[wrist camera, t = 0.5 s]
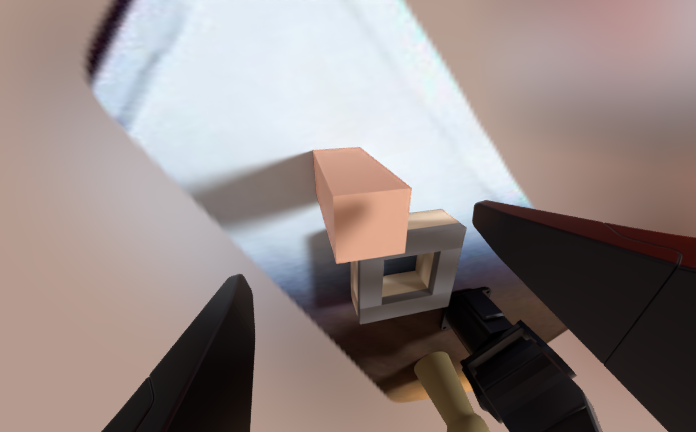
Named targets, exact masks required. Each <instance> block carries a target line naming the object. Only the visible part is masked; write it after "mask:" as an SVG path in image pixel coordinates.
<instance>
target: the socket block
mask: <svg viewBox="0 0 696 432" xmlns="http://www.w3.org/2000/svg"><path fill="white" fill-rule="evenodd" d="M465 233H466V227H465V226H464V225H462V224H461V223H460V222H459V221H457V220H456V219H455V218H453V217H452V216H451V215H449V214H448V213H447V212H446V211H444V210H443V209H439V210H431V211H423V212H415V213H409V218H408V227H407V237H406V246H405V253H403V254H397V255H390V256H384V257H377V258H371V259H364V260H358V261H352V262H351V297H352V300H353V303H354V307H355V310H356V313H357V316H358V319H359V323H360V324H365V323H370V322H375V321H380V320H384V319H389V318H394V317H399V316H404V315H409V314H413V313H418V312H423V311H428V310H433V309H438V308H442V307H447V306H448V305H449V300H450V296H451V292H452V288H453V283H454V279H455V275H456V271H457V266H458V262H459V258H460V254H461V250H462V245H463V241H464V237H465ZM413 255H417V261H416V268H415V271H410V272H404V273H398V274H392V275H386V276H383V272H384V260H388V259H394V258H400V257H407V256H413Z"/></svg>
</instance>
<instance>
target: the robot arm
mask: <svg viewBox="0 0 696 432" xmlns="http://www.w3.org/2000/svg"><path fill="white" fill-rule="evenodd" d="M472 222H473V225H474V227H475V228H476V229H477V231H478V232H479V233H480V234H481V236H482V237H483V238H484V239H485V241H486V242H487V243H488V244H489V246H490V247H491V248H492V250H493V251H494V252H495V253H496V254H497V256H498V257H499V258H500V259H501V260H502V261H503V262H504V263H505V264H506V265H507V266H508V267H509V268H510V269H511V270H512V271H513V272H514V273H515V274H516V275H517V276H518V277H519V278H520V279H521V280H522V281H523V282H524V283H525V285H526V286H527V287H528V288H529V289H530V290H531V291H532V292H533V293H534V294H535V295H536V296H537V297H538V298H539V299H540V300H541V301H542V302H543V303H544V304H545V305H546V306H547V307H548V308H549V309H550V310H551V311H552V312H553V313H554V314H555V315H556V316H557V317H558V318H559V319H560V321H561V322H562V323H563V324H564V325H565V326H566V327H567V328H568V329H569V330H570V331H571V332H572V333H573V334H574V335H575V336H576V337H577V338H578V339H579V340H580V341H581V342H582V343H583V344H584V345H585V346H586V347H587V348H588V349H589V350H590V351H591V352H592V353H593V354H594V355H595V356H596V357H597V359H598V360H599V361H600V362H601V363H603V364H604V366H605V367H606V368H607V369H608V370H609V371H610V372H611V373H612V374H613V375H614V376H615V377H616V378H617V379H618V380H619V381H620V382H621V383H622V385H623V386H624V387H625V388H627V390H628V391H629V392H630V393H631V394H632V395H633V396H634V397H635V398H636V399H637V400H638V401H639V402H640V403H641V404H642V405H643V406H644V407H645V408H646V409H647V410H648V411H649V412H650V413H651V414H652V415H653V416H654V417H655V418H656V419H657V421H659V422H660V423H661V425H662V426H663V427H664V428H665V429H666V430H667V431H668V432H696V238H695V237H689V236H682V235H675V234H668V233H662V232H656V231H650V230H643V229H638V228H632V227H627V226H621V225H616V224H610V223H603V222H599V221H594V220H589V219H584V218H578V217H573V216H568V215H562V214H557V213H552V212H546V211H541V210H536V209H531V208H525V207H520V206H515V205H509V204H504V203H499V202H493V201H488V200H484V201H481V202H477V203H476V204H475V205H474V211H473V219H472ZM490 294H491V289H490V288H489V287H486V288H481V289H476V290H471V291H466V292H461V293H455V294H451V296H450V300H449V305H448V306H447V307H444V310H443V314H442V319H441V323H440V328H441V330H448V329H453V331H454V332H455V334H456V335H457V337H458V338H459V340H460V341H461V342H462V344H463V345H464V347H465V348H466V350H467V351H468V353H469V354H470V356H469V357H468V358H466V359H465V360H464V359H463V360H462V361H460V363H461V365H462V367H463V368H462V371H463V373H464V374H465V376H466V378H467V379H468V381H469V383H470V384H471V387H472V389H473V391H474V394H475V396H476V398H477V401H478V402H479V405H480V407H481V408H482V409H483V410H484V411H487V412H489V413H490V414H491V415H492V416H493V417H494V418H495V419H496V420H497V421H498V422H499V423H504V424H505V426H506V427H507V429H508V430H509V432H603V431H602V429H601V426H600V424H599V421H598V418H597V416H596V413H595V411H594V408H593V406H592V404H591V403H590V401H589V400H588V398H587V397H586V395H585V394H584V392H583V391H582V390H581V388H580V387H579V386H578V385H577V384H576V383H575V382H574V381H573V380H572V378H574V377H576V376H577V375H576V374H575V373H574V371H573V370H572V369H571V368H570V367H569V366H568V365H567V364H566V363H565V362H564V361H563V359H562V358H561V357H559V355H558V354H557V353H556V352H554V350H553V349H552V348H550V347H549V346H548V345H547V344H546V343H545V342H544V341H543V340H542V339H541V338H540V337H539V336H538V335H537V334H535V333H534V332H533V331H532V330H531V329H530V328H529V327H528V326H527V325H526V324H525V323H524V322H522V321H521V320H519V321H518V322H517V324H515V325H514V326H513V325H512V324H511V323H510V322H509V321H508V320H507V319H506V318H505V316H504V313H503V312H502V311H501V310H500V309H499V308H498V307H497V306H496V305H495V304H494V303H493V302H492V301H491V300H490V299H489V297H490ZM254 353H255V323H254V307H253V294H252V290H251V288H250V287H249V285H248V283H247V281H246V279H245V277H244V276H243V275H242V274H237V275H234V276H231V277H229V278H228V279H227V280H226V281H225V283H224V284H223V285H222V286H221V287H220V289H219V290H218V291H217V292H216V294H215V295H214V296H213V297H212V298H211V300H210V301H209V302H208V303H207V305H206V306H205V307H204V308H203V310H202V311H201V312H200V313H199V315H198V316H197V317H196V318H195V319H194V321H193V322H192V323H191V324H190V326H189V327H188V328H187V329H186V330H185V332H184V333H183V334H182V335H181V337H180V338H179V339H178V340H177V342H176V343H175V344H174V345H173V346H172V348H171V349H170V350H169V351H168V353H167V354H166V355H165V356H164V358H163V359H162V360H161V361H160V363H159V364H158V365H157V366H156V367H155V369H154V370H153V371H152V372H151V374H150V375H149V376H150V377H148V378H146V379H145V381H144V382H143V383H142V384H141V386H140V387H139V388H138V390H137V391H136V392H135V393H134V394H133V395H132V397H131V398H130V399H129V400H128V401H127V403H126V404H125V405H124V406H123V407H122V409H121V410H120V411H119V412H118V413H117V414H116V416H115V417H114V418H113V419H112V420H111V421H110V422H109V424H108V425H107V426H106V427H105V428H104V429H103V430H102V431H101V432H250V423H251V405H252V387H253V370H254Z"/></svg>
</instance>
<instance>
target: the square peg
mask: <svg viewBox="0 0 696 432" xmlns="http://www.w3.org/2000/svg"><path fill="white" fill-rule="evenodd" d="M313 158H314V170H315V182H316V193H317V198H318V202H319V205H320V209H321V212H322V216H323V219H324V222H325V226H326V229H327V233H328V236H329V240H330V243H331V247H332V250H333V254H334V257H335V261H336V264H339V263H345V262H352V261H358V260H364V259H371V258H377V257H384V256H390V255H397V254H403V253H405V246H406V237H407V227H408V218H409V209H410V199H411V190H412V188H411V187H410V186H408V185H407V184H406V183H405V182H403V181H402V180H401V179H400V178H398V177H397V176H396V175H395V174H393V173H392V172H391V171H389V170H388V169H387V168H386V167H384V166H383V165H382V164H381V163H379V162H378V161H377V160H376V159H374V158H373V157H372V156H370V155H369V154H368V153H367V152H365V151H364V150H363V149H362V148H360V147H354V148H339V149H325V150H313Z"/></svg>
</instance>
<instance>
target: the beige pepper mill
mask: <svg viewBox="0 0 696 432" xmlns="http://www.w3.org/2000/svg"><path fill="white" fill-rule="evenodd" d="M414 372H415V374H416V375H417V377H418V379H419V380H420V382H421V384H422V385H423V387H424V388H425V390H426V392H427V393H428V395H429V397H430V398H431V400H432V402H433V403H434V405H435V407H436V408H437V410H438V412H439V413H440V415H441V417H442V418H443V420H444V421H445V423H446V425H447V432H490V431H489V428H488V426H487V424H486V423H485V421H484V420H483V419H482V418H481V417H480V416H479V415H477V414H476V413H474V411H473V408H472V406H471V404H470V402H469V400H468V397H467V395H466V393H465V391H464V389H463V386H462V384H461V382H460V380H459V378H458V376H457V373H456V371H455V369H454V367H453V365H452V362H451V360H450V358H449V356H448V354H447V353H445V352H434V353H430V354H428V355H426V356H424V357H423V358H421V359H420V360H419V361H418V362H417V363H416V365H415V367H414Z"/></svg>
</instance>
